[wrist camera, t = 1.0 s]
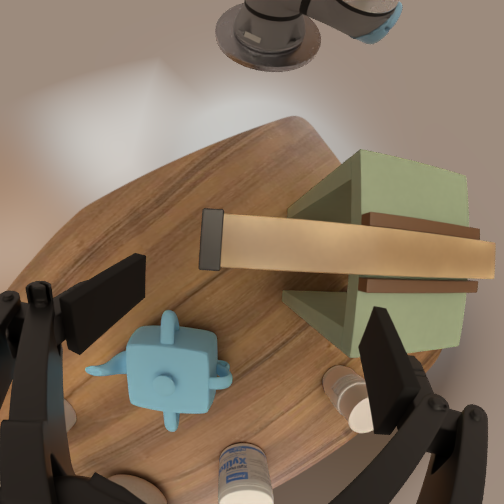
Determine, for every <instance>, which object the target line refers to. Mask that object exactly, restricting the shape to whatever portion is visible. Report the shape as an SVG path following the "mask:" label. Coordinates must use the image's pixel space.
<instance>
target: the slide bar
mask: <svg viewBox="0 0 504 504" xmlns="http://www.w3.org/2000/svg"><path fill="white" fill-rule="evenodd" d="M222 267H223V268H239V269H256V270H273V271H291V272H311V273H331V274H353V275H377V276H403V277H434V278H471V279H494V272H495V243H493V242H487V241H481V240H474V239H468V238H461V237H454V236H447V235H439V234H432V233H424V232H417V231H409V230H400V229H392V228H383V227H375V226H365V225H356V224H346V223H336V222H326V221H315V220H304V219H293V218H281V217H268V216H255V215H240V214H225V213H224V210H223V209H208V208H204V209H203V211H202V224H201V237H200V252H199V269H200V270H211V271H220V269H221V268H222Z"/></svg>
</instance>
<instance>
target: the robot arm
mask: <svg viewBox="0 0 504 504" xmlns="http://www.w3.org/2000/svg"><path fill="white" fill-rule="evenodd" d="M401 12H402V4H401V3H400V2H399V0H245V2H244V4H243V6H242V8H241V9H240V11H239V13H238V14H237V16H236V18H235V21H234V33H235V36H236V37H237V39H238V40H239V41H240V42H241V43H242V44H244V45H245V46H247V47H249V48H251V49H253V50H256V51H259V52H264V53H285V52H289V51H291V50H294V49H295V48H297V47H298V46H299V45H300V44H301V43H302V41H303V39H304V36H305V22H304V16H303V15H306V16H308V17H311V18H313V19H315V20H318V21H320V22H322V23H325V24H327V25H329V26H331V27H333V28H335V29H337V30H339V31H341V32H343V33H345V34H347V35H349V36H350V37H351V38H353V39H357V40H359V41H362V42H364V43H366V44H374V43H377V42H378V41H380V40H381V39H382V38H383V37H385V36H386V35H387V33H388V32H389V30H390V29H391V28H392V27H393V26H394V25H395V23H396V22H397V20H398V18H399V17H400V14H401ZM145 270H146V256H145V255H141V254H137V253H134V254H132V255H131V256H129V257H127V258H125V259H124V260H122V261H120V262H118V263H117V264H115V265H113V266H111V267H110V268H108V269H106V270H105V271H103V272H101V273H99V274H98V275H96V276H94V277H93V278H91V279H89V280H86V281H83V282H80V283H78V284H76V285H74V286H73V287H71V288H69V289H68V290H67V291H64V292H63V293H61V294H59V295H58V296H56V297H54V298H53V296H52V289H51V284H50V283H49V282H46V281H35V282H32V283H30V284H28V285H27V286H26V293H27V299H28V303H24V302H21V300H20V296H19V293H18V292H15V291H5V292H3V293H1V294H0V409H1V406H2V404H3V401H4V399H5V396H6V394H7V391H8V389H9V386H10V384H11V382H12V379H13V382H12V390H11V400H10V411H9V420H3V421H2V422H1V427H0V484H1V487H0V504H147V503H145V502H144V501H142V500H141V499H140V498H138V497H137V496H135V495H134V494H133V493H131V492H130V491H129V490H127V489H126V488H125V487H123V486H121V485H119V484H117V483H115V482H113V481H111V480H109V479H107V478H105V477H103V476H101V475H99V474H98V473H96V472H95V473H94V474H93V476H92V477H91V478H89V477H85V476H77V475H75V473H74V470H73V468H72V464H71V459H70V453H69V446H68V439H67V431H66V422H65V411H64V396H63V367H62V354H63V349H62V344H61V343H62V342H63V341H64V340H65V339H66V341H67V346H68V349H69V350H71V351H73V352H75V353H77V354H79V355H81V354H82V353H83V352H84V351H85V350H86V349H87V348H88V347H89V346H90V345H92V344H93V343H94V342H95V341H96V340H97V339H98V338H99V337H101V336H102V335H103V334H104V333H105V332H106V331H107V330H108V329H109V328H111V327H112V326H113V325H114V324H115V323H116V322H117V321H119V320H120V319H121V318H122V317H123V316H124V315H125V314H127V313H128V312H129V311H130V310H131V309H132V308H133V307H135V306H136V305H137V304H138V303H139V302H140V301H141V300H143V299H144V298H145ZM358 349H359V353H360V358H361V363H362V368H363V372H364V378H365V383H366V388H367V393H368V399H369V405H370V411H371V417H372V423H373V429H374V434H384V435H390V434H391V433H392V432H393V430H394V429H395V427H396V426H397V429H398V432H397V433H396V434H395V436H394V437H393V438H392V439H391V440H390V441H389V443H388V444H387V445H386V446H385V447H384V448H383V450H382V451H381V452H380V453H379V454H378V455H377V456H376V457H375V458H374V460H373V461H372V462H371V463H370V464H369V465H368V466H367V467H366V468H365V469H364V470H363V471H362V472H361V473H360V474H359V475H358V476H357V477H356V478H355V479H354V480H353V481H352V482H351V483H350V484H349V485H348V486H347V487H346V488H345V489H344V490H343V491H342V492H341V493H340V494H339V495H338V496H336V497H335V498H334V499H333V500H332V501H331V502H330V503H328V504H389V503H390V502H391V500H392V499H393V498H394V496H395V495H396V494H397V493H398V491H399V490H400V489H401V487H402V486H403V485H404V483H405V482H406V481H407V479H408V478H409V476H410V475H411V474H412V472H413V471H414V469H415V468H416V466H417V465H418V463H419V462H420V460H421V459H422V457H423V455H424V454H425V452H429V453H431V457H430V461H429V465H428V469H427V472H426V476H425V479H424V482H423V486H422V489H421V492H420V495H419V497H418V500H417V503H416V504H482V500H483V494H484V486H485V477H486V466H487V448H488V418H487V414H486V413H485V411H484V410H483V409H482V408H481V407H479V406H477V405H473V404H471V405H467V406H466V407H465V408H464V410H463V411H462V412H459V411H455V410H452V409H449V405H448V403H447V401H446V400H445V399H444V398H443V397H441V396H440V395H437V394H434V392H433V390H432V388H431V385H430V383H429V381H428V378H427V377H426V374H425V372H424V371H423V370H424V369H423V367H422V365H421V363H420V362H419V361H418V360H417V359H416V358H415V356H409V355H407V353H406V350H405V348H404V346H403V344H402V341H401V339H400V337H399V335H398V332H397V330H396V328H395V326H394V324H393V322H392V319H391V317H390V315H389V313H388V311H387V309H386V308H382V307H377V306H374V307H373V310H372V312H371V315H370V318H369V321H368V323H367V326H366V329H365V331H364V334H363V336H362V339H361V341H360V344H359V346H358Z"/></svg>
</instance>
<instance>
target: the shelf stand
mask: <svg viewBox="0 0 504 504" xmlns="http://www.w3.org/2000/svg"><path fill="white" fill-rule="evenodd" d="M466 181H467V180H466V176H464V175H461V174H458V173H455V172H451V171H448V170H445V169H441V168H437V167H434V166H430V165H427V164H423V163H419V162H415V161H412V160H407V159H403V158H399V157H395V156H390V155H386V154H382V153H377V152H372V151H367V150H362V149H360V150H359V151H358V152H356V153H355V154H354V155H353V156H351V157H350V158H349V159H348V160H346V161H345V162H344V163H343V164H341V165H340V166H339V167H338V168H336V169H335V170H334V171H333V172H331V173H330V174H329V175H328V176H327V177H325V178H324V179H323V180H322V181H320V182H319V183H318V184H317V185H316V186H314V187H313V188H312V189H311V190H309V191H308V192H307V193H306V194H305V195H303V196H302V197H301V198H300V199H299V200H297V201H296V202H295V203H294V204H292V205H291V206H290V207H289V208H288V209H287V218H293V219H304V220H315V221H326V222H336V223H346V224H356V225H365V226H375V227H383V228H392V229H400V230H409V231H417V232H424V233H432V234H439V235H447V236H454V237H461V238H468V239H474V240H480V229H477V228H471V227H469V211H468V193H467V182H466ZM467 279H468V278H434V277H403V276H377V275H353V274H349V276H348V289H347V292H324V291H296V290H283V293H282V302H283V303H285V304H286V305H287V306H288V307H289V308H290V309H292V310H293V311H294V312H295V313H296V314H298V315H299V316H300V317H301V318H302V319H304V320H305V321H306V322H307V323H308V324H310V325H311V326H312V327H313V328H314V329H316V330H317V331H318V332H319V333H320V334H321V335H323V336H324V337H325V338H326V339H328V340H329V341H330V342H331V343H332V344H334V345H335V346H336V347H337V348H338V349H340V350H341V351H342V352H343V353H345V354H346V355H347V356H348V357H349V358H358V357H360V353H359V349H358V346H359V344H360V341H361V339H362V336H363V334H364V331H365V329H366V326H367V323H368V321H369V318H370V315H371V312H372V310H373V307H374V306H377V307H382V308H386V309H387V311H388V313H389V315H390V317H391V319H392V322H393V324H394V326H395V328H396V330H397V332H398V335H399V337H400V339H401V341H402V344H403V346H404V348H405V350H406V353H413V352H421V351H428V350H435V349H442V348H449V347H455V346H459V341H460V336H461V330H462V324H463V317H464V308H465V301H466V293H476V292H477V288H478V281H470V280H467Z"/></svg>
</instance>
